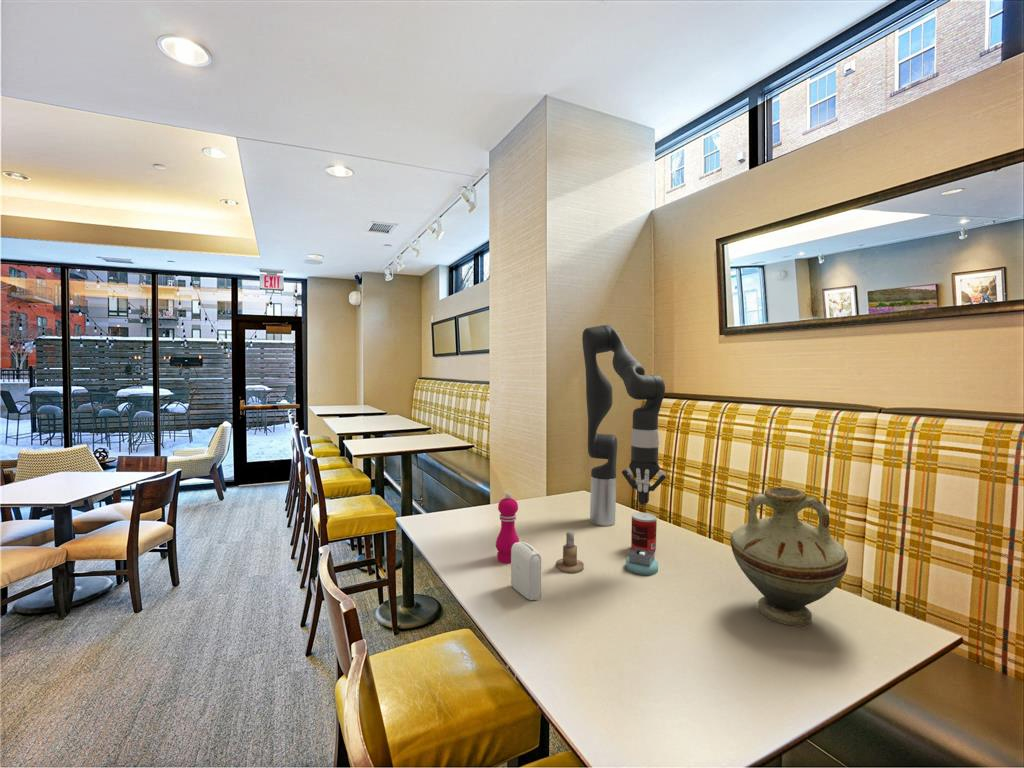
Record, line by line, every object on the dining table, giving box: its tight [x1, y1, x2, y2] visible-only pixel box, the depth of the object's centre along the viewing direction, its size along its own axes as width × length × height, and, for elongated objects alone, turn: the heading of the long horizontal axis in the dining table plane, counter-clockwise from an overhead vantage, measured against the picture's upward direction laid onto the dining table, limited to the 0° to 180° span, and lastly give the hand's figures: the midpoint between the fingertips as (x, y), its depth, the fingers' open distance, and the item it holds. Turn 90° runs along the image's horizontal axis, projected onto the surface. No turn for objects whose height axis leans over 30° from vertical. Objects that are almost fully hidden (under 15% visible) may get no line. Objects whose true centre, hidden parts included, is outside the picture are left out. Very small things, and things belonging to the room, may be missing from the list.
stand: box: [555, 531, 585, 574], centre depth 134 cm, size 8×8×10 cm
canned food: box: [630, 512, 658, 553], centre depth 148 cm, size 8×8×11 cm
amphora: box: [729, 487, 849, 627], centre depth 109 cm, size 24×24×30 cm
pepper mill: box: [495, 492, 520, 564], centre depth 139 cm, size 7×7×20 cm
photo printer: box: [510, 541, 542, 601], centre depth 119 cm, size 10×4×12 cm, turn 29°
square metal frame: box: [628, 548, 656, 567], centre depth 134 cm, size 6×6×2 cm
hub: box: [625, 552, 659, 576], centre depth 134 cm, size 9×9×4 cm
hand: (643, 504), depth 133 cm, fingers closed
